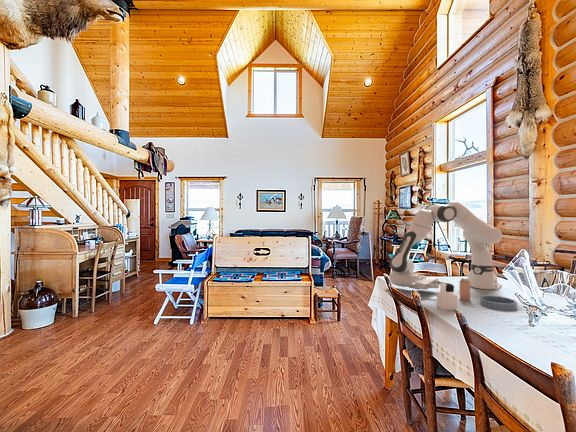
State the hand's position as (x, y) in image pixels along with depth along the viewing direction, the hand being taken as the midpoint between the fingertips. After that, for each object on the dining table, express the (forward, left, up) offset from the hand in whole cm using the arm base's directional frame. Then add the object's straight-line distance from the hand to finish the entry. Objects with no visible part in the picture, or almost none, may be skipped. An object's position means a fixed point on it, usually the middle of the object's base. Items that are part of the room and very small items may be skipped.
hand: (441, 285), depth 173 cm
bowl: (-5, +27, -6) cm, 28 cm away
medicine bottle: (+20, +13, -6) cm, 24 cm away
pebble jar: (-2, +12, -6) cm, 13 cm away
